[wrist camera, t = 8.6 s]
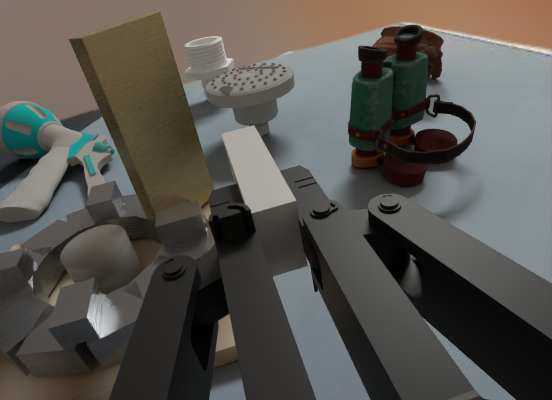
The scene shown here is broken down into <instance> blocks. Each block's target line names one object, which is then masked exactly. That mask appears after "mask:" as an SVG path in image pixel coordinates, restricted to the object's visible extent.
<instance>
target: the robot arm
mask: <svg viewBox="0 0 552 400" xmlns="http://www.w3.org/2000/svg"><path fill="white" fill-rule="evenodd" d="M221 135H222V139H223V143H224V146H225V150H226V154H227V157H228V161H229V165H230V169H231V172H232V176H233V180H234V183H235V184H234V185H230V186H227V187H223V188H220V189H216V190H212V192H211V194H210V196H209V198H208V201H209V206H210V211H211V215H210V216H209V219H208V223H209V226H210V229H211V232H212V235H213V238H214V241H215V244H214V245H213V247H212V248H211V249H210V250H209V251H208V252H207V253H206V254H204V255H203V256H201V257H199V258H198V259H196V260H194V259H193V258H192V257H190V256H187V255H178V256H174V257H171V258H169V259H167V260H165V261H163V262H162V263H161V264H160V265H158V266H157V267H156V269H155V271H154V272H153V274H152V277H151V280H150V283H149V286H148V289H147V291H146V294H145V297H144V300H143V303H142V306H141V309H140V311H139V314H138V317H137V320H136V323H135V326H134V329H133V331H132V334H131V337H130V340H129V343H128V346H127V349H126V352H125V354H124V357H123V360H122V363H121V366H120V369H119V372H118V374H117V377H116V380H115V383H114V386H113V389H112V392H111V394H110V397H109V400H209V396H210V389H211V381H212V374H213V366H214V359H215V351H216V344H217V336H218V329H219V323H218V321H219V320H220V319H222V318H224V317H225V316H227V315H228V314H229V315H230V320H231V325H232V331H233V336H234V341H235V346H236V351H237V356H238V361H239V366H240V371H241V376H242V381H243V386H244V391H245V396H246V400H316V398H315V395H314V392H313V389H312V386H311V384H310V381H309V378H308V375H307V372H306V370H305V367H304V364H303V361H302V358H301V356H300V353H299V350H298V347H297V344H296V342H295V339H294V336H293V333H292V330H291V328H290V325H289V322H288V319H287V316H286V313H285V311H284V308H283V305H282V302H281V299H280V297H279V294H278V291H277V288H276V285H275V283H274V280H273V276H276V275H279V274H282V273H286V272H289V271H292V270H295V269H299V268H302V267H305V266H308V265H307V259H308V261H309V263H310V266H311V272H312V278H313V284H314V290H315V292H317V291H318V289H319V292H320V294H321V296H322V298H323V300H324V302H325V304H326V306H327V308H328V311H329V313H330V315H331V317H332V319H333V321H334V323H335V325H336V327H337V330H338V332H339V334H340V336H341V338H342V340H343V342H344V344H345V347H346V349H347V351H348V353H349V355H350V357H351V359H352V361H353V363H354V366H355V368H356V370H357V372H358V374H359V376H360V378H361V380H362V382H363V385H364V387H365V389H366V391H367V393H368V395H369V397H370V399H371V400H487V399H484V398H482V397H481V396H480V395H479V394H478V393H477V392H476V391H475V390H474V388H473V387H472V385H471V384H470V383H469V381H468V380H467V378H466V377H465V376H464V374H463V373H462V372H461V370H460V369H459V367H458V366H457V365H456V363H455V362H454V361H453V359H452V358H451V356H450V355H449V354H448V352H447V351H446V349H445V348H444V347H443V345H442V344H441V343H440V341H439V340H438V338H437V337H436V336H435V334H434V333H433V332H432V330H431V329H430V327H429V326H428V325H427V323H426V322H425V321H424V319H425V320H426V321H427V322H428V323H430V324H431V325H432V326H433V327H434V328H435V329H436V330H438V331H439V332H440V333H441V334H442V335H443V336H444V337H446V338H447V339H448V340H449V341H450V342H451V343H452V344H454V345H455V346H456V347H457V348H458V349H459V350H460V351H461V352H463V353H464V354H465V355H466V356H467V357H468V358H469V359H471V360H472V361H473V362H474V363H475V364H476V365H477V366H479V367H480V368H481V369H482V370H483V371H484V372H485V373H486V374H488V375H489V376H490V377H491V378H492V379H493V380H494V381H496V382H497V383H498V384H499V385H500V386H501V387H502V388H504V389H505V390H506V391H507V392H508V393H509V394H510V395H511V396H513V397H514V398H515V399H516V400H552V283H550V282H548V281H546V280H545V279H543V278H541V277H540V276H538V275H536V274H535V273H533V272H531V271H530V270H528V269H526V268H524V267H523V266H521V265H519V264H518V263H516V262H514V261H513V260H511V259H509V258H508V257H506V256H504V255H502V254H501V253H499V252H497V251H496V250H494V249H492V248H491V247H489V246H487V245H486V244H484V243H482V242H480V241H479V240H477V239H475V238H474V237H472V236H470V235H469V234H467V233H465V232H464V231H462V230H460V229H458V228H457V227H455V226H453V225H452V224H450V223H448V222H447V221H445V220H443V219H442V218H440V217H438V216H436V215H435V214H433V213H431V212H430V211H428V210H426V209H425V208H423V207H421V206H420V205H418V204H416V203H414V202H413V201H411V200H409V199H408V198H406V197H404V196H401V195H398V194H382V195H379V196H375V197H374V198H373V199H371V200H370V201H369V203H368V209H359V210H347V209H343V207H342V206H341V205H340V204H339V203H337V202H335V201H332V200H329V199H328V197H327V196H326V194H325V193H324V192H323V190H322V189H321V187H320V186H319V184H318V183H317V182H316V180H315V179H314V178H313V176H312V174H311V173H310V172H309V170H308V169H306V168H303V167H301V166H295V167H292V168H288V169H285V170H281V171H279V169H278V167H277V165H276V163H275V162H274V160H273V158H272V156H271V154H270V153H269V151H268V149H267V147H266V146H265V144H264V142H263V140H262V138H261V137H260V135H259V133H258V131H257V130H256V128H255V126H254V125H253V126H249V127H246V128H242V129H238V130H234V131H230V132H226V133H223V134H221ZM306 257H307V259H306ZM317 287H318V288H317ZM422 317H423V318H424V319H423V318H422Z"/></svg>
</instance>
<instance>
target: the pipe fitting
mask: <svg viewBox="0 0 552 400" xmlns="http://www.w3.org/2000/svg"><path fill="white" fill-rule="evenodd" d="M185 50H187V51H186V53H187V57H188V60H189V64H190V67H189V68H188V69H187V70H186V71H185V76H186V79H193V80H201V81H202V86H203V89H204V94H205V96H206V99H207V101H208V102H209V99H208V96H207V92H206V86H207V84H208V83H209V82H210V81H212V80H213V79H215V78H216V76H218V75H219V76H220V75H222V74H223V72H226V73H227V72H230V71H231V70H232V69H233V67H234V60H233V59H230V58H226V55H225V49H224V45H223V41H222V38H221V37H219V36H213V37H205V38H201V39H197V40H194V41H191V42H189V43H187V44H185Z"/></svg>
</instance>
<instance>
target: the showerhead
mask: <svg viewBox="0 0 552 400" xmlns="http://www.w3.org/2000/svg"><path fill="white" fill-rule="evenodd" d="M232 70H233V71H230V72H227V73H226V72H223V74H222V75H220V76H219V75H218V76H216V78H215V79H213V80H212V81H210V82H209V83H208V84H207V86H206V92H207V96H208V99H209V102H210V103H211V104H213V105H215V106H218V107H223V108H233V112H234V116H235V120H236V121H237V122H238V123H239V124H242V125H249V126H253V125H254V126H255V128H256V130H257V131H258V133H259V135H260V136H264V135H266V134H268V133H269V132H270V130H269V125H268V121H270V120H272V119H273V118H274V117H275V116H276V115H277V113H278V108H277V102H276V99H277V98H279V97H281V96H283V95H285V94H287V93H288V92H289V91H291V89H292V88H293V87H294V84H295V83H294V73H293V70H292V69H291V68H290V67H287V66H284V65H281V64H275V63H272V64H266V63H263V64H261V65H256V64H253V66H247V67H245V66H242V67H241V68H239V69H235V68H234V69H232Z"/></svg>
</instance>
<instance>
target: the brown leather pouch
mask: <svg viewBox="0 0 552 400" xmlns="http://www.w3.org/2000/svg"><path fill="white" fill-rule="evenodd" d="M400 28H402V27H400V26H399V27H397V26H396V27H388V28H384V29H383V31H382V32H381V35H382V37H381V38H380V39H379V40H377V42H376V43H375V44H374V45H373V46H372V47H377V48H382V49H385V50H387V57H389V56H392V55H395V54H396V52H397V44H395V42H394V35H395V32H396V31H397V30H398V29H400ZM443 42H444V41H443V39H442V38H441V37H440V36H438V35H436V34H434V33H433V32H429V31H427V30H423V32H422V38H421V42H420V43H419V44H417V52H419V53H423V54H426V55H427V56H428V73H427V79H428V78H429V77H430V75H431V74H432V78H433V79H435V78H438V77H440V74H441V72H442V61H441V57H442V55H443V53H442V52H441V46H442V44H443ZM387 57H386V58H387Z"/></svg>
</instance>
